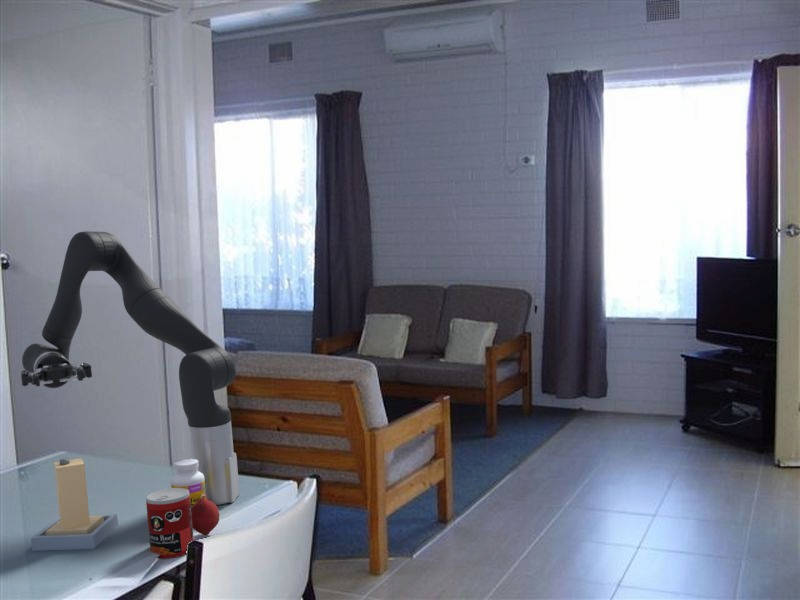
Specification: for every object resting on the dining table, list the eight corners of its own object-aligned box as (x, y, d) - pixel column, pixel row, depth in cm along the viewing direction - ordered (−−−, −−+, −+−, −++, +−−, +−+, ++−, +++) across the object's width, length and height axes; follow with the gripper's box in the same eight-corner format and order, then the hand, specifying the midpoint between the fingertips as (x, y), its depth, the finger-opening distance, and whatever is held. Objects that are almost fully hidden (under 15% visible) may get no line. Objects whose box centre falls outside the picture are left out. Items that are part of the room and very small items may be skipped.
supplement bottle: (191, 531, 177) (185, 468, 176) (167, 526, 181) (162, 464, 180) (214, 520, 183) (209, 459, 182) (191, 516, 187) (186, 456, 185)
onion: (213, 540, 171) (210, 500, 170) (185, 540, 172) (182, 500, 172) (225, 530, 177) (222, 490, 176) (198, 529, 178) (194, 490, 177)
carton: (86, 517, 177) (80, 454, 176) (90, 524, 173) (83, 459, 172) (59, 522, 175) (53, 458, 174) (62, 529, 171) (56, 464, 169)
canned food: (142, 557, 165) (137, 499, 164) (168, 541, 172) (164, 486, 171) (176, 561, 162) (171, 502, 161) (202, 545, 169) (197, 488, 168)
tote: (118, 531, 180) (117, 514, 180) (94, 553, 168) (92, 535, 168) (60, 533, 181) (59, 516, 180) (32, 555, 169) (31, 537, 169)
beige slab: (104, 530, 178) (103, 515, 178) (88, 545, 170) (86, 529, 170) (65, 531, 179) (64, 516, 178) (47, 546, 171) (45, 531, 170)
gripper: (16, 356, 199) (21, 365, 185) (83, 348, 206) (93, 356, 191) (20, 389, 200) (25, 401, 186) (86, 381, 206) (96, 391, 192)
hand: (59, 378), depth 188 cm, fingers open, 8 cm apart
